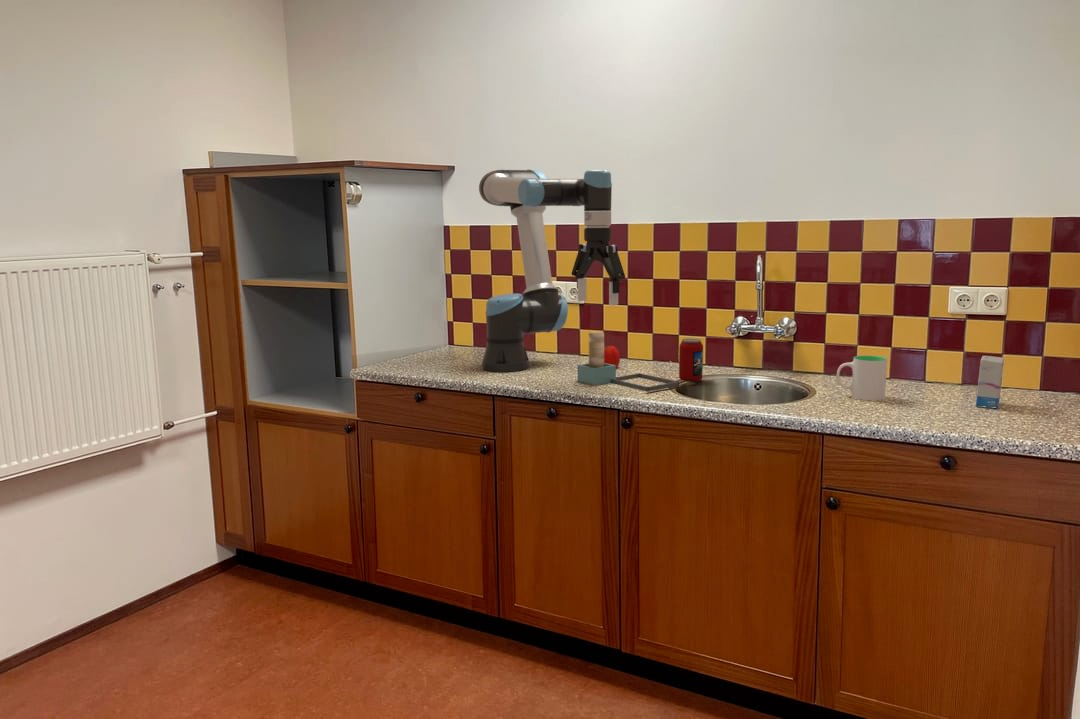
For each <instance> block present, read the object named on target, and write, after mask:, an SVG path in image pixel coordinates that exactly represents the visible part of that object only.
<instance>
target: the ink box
mask: <svg viewBox="0 0 1080 719" xmlns="http://www.w3.org/2000/svg"><path fill="white" fill-rule="evenodd" d="M1004 363H1005V358H1004V357H1001V356H1000V357H999V356H992V355H982V356H981V359H980V365H979V373H978V381H977V390H976V401H975V407H976V406H986V407H996V408H997V407H998V408H999V404H1000V399H1001V391H1002V383H1003V374H1004V365H1005V364H1004ZM998 408H997V409H998Z"/></svg>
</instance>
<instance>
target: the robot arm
mask: <svg viewBox="0 0 1080 719" xmlns="http://www.w3.org/2000/svg"><path fill="white" fill-rule="evenodd" d="M612 188H613V183H612V173H611V171H609V170H608V169H607V170H606V169H592V170H590V169H588V170H586V171H585V172H584V174H583V178H548V177H547V176H546V174H544V173H543V172H542V171H540V170H536V169H535V170H532V169H497V170H491V171H490V172H489V171H488V173H486V174H485V175H484V176H482V178H481V179H480V181H479V185H478V191H479V195H480V197H481V199H482V200H484V201H485V203H487V204H489V205H492V206H496V207H509V209H510V214H511V215H512V216H514V217H515V218H516V223H517V224H516V225H517V229H518V230H517V231H518V237H519V244H520V251H521V259H522V264H523V265H522V266H523V273H524V279H525V287H526V289H524V291H523V292H522V293H506V294H499V295H496V296H492V297H490V298H488V299H487V301H486V303H485V304H486V307H485V308H486V309H485V320H486V321H485V322H486V346H485V351H484V353H483V358H482V359H481V360H482V362H481V367H482V368H481V369H482V370H484V371H489V372H496V373H498V372H499V373H503V372H504V373H508V372H519V371H523V370H524V371H525V370H527V369H529V368H530V360H529V357H528V352H527V351H526V347H525V345H524V335H525V334H527V335H528V334H537V333H538V334H539V333H551V332H557V331H560V330H561V329H563V327H564V326H565V324H566V322H567V319H568V314H569V313H568V312H569V309H568V308H569V307H568V306H569V305H568V302H567V299H566V297H565V296H564V295H563V294H560V293H559V288H558V287H556V286H555V285H554V283H553V280H552V272H551V264H550V259H549V252H548V245H547V238H546V231H545V230H546V229H545V225H544V216H543V213H544V212H545V211H546V209H547V207H552V206H553V207H559V206H562V207H581V206H582V207H583V206H584V207H583V208H584V209H583V214H584V216H583V217H584V218H583V219H584V221H583V222H584V225H583V226H585V228H584V229H583V231H584V233H583V234H584V235H583V240H584V242H586V243H579V244H578V249H577V250H578V252H577V255H576V257H575V261H574V263H573V264H574V265H573V267H572V271H571V276H572V277H573V276H574V277H575V278H576V289H577V302H587V298H588V297H587V296H588V294H587V289H588V288H587V286H588V285H587V276H586V275H587V273H588V272H589V269H590V268H591V266H592V264H593V263H594V262H595V261H596V262H600V263H601V264H602V265H603V267H604V269H605V270H606V273H607V275H608V276H609V279H610V280H609V281H608V287H609V288H608V305H609V306H618V305H619V294H620V282H621V281H622V280H625V279H626V274H625V272H624V268H623V265H622V262H621V259H620V255H619V253H618V252H619V251H618V245H617V244H609V242H610V241H611V240H612V228H611V227H610V226H611V225H612V191H613V190H612Z"/></svg>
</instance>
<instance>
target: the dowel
mask: <svg viewBox="0 0 1080 719" xmlns="http://www.w3.org/2000/svg"><path fill="white" fill-rule="evenodd" d="M604 347H605V332H603V331H591V332H588V363H589V367H592V368H599V367H604Z"/></svg>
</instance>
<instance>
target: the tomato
mask: <svg viewBox="0 0 1080 719" xmlns="http://www.w3.org/2000/svg"><path fill="white" fill-rule="evenodd" d="M620 356H621V354H620V352H619V350H618V349H617V347H616V346H614V345H605V346H604V363H606V364H611V365H616V369H617V368H618V367H619V365H620V363H621V357H620Z"/></svg>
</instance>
